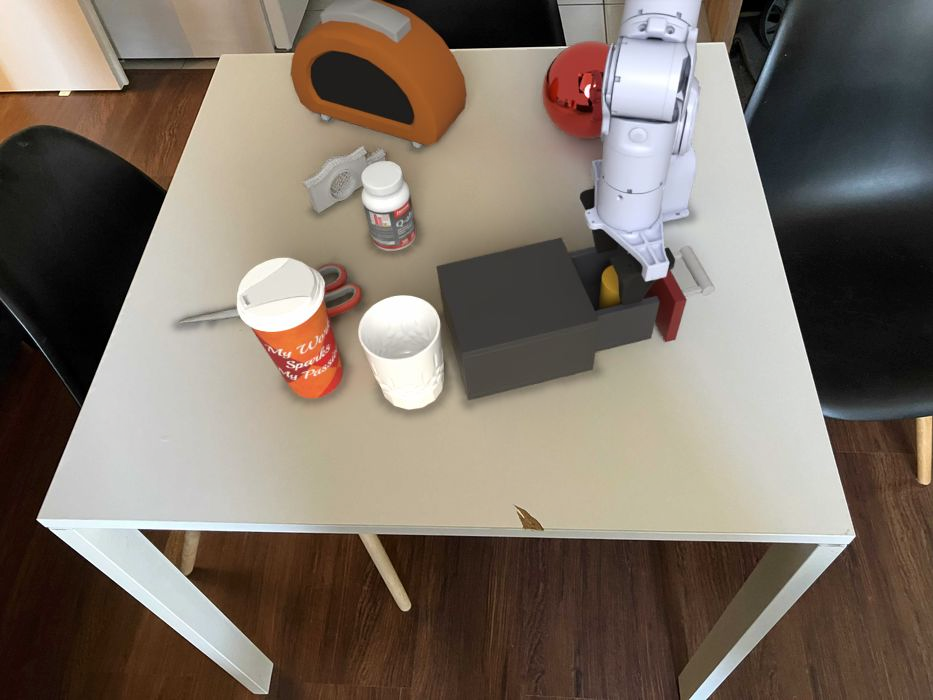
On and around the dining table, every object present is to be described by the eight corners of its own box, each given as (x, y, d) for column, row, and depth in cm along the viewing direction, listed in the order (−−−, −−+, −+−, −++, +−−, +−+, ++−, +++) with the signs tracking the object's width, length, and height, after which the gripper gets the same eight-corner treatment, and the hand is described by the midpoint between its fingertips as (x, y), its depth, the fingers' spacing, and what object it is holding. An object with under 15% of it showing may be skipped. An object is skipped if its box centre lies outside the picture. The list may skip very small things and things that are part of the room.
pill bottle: (410, 255, 87) (398, 194, 79) (366, 250, 88) (350, 189, 80) (422, 221, 91) (411, 159, 83) (378, 217, 92) (364, 155, 84)
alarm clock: (300, 116, 105) (266, 6, 91) (334, 82, 109) (307, -29, 95) (439, 159, 97) (425, 45, 84) (470, 119, 102) (461, 6, 88)
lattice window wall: (382, 164, 97) (374, 128, 93) (390, 170, 97) (383, 134, 92) (310, 210, 93) (298, 175, 88) (318, 217, 92) (307, 181, 88)
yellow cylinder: (592, 298, 79) (596, 268, 75) (627, 290, 79) (632, 259, 75) (605, 326, 77) (609, 296, 73) (641, 317, 77) (647, 287, 73)
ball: (547, 99, 103) (549, 19, 93) (632, 104, 101) (643, 24, 91) (535, 154, 96) (535, 74, 87) (625, 161, 94) (636, 80, 85)
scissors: (178, 320, 84) (173, 312, 83) (349, 262, 87) (346, 254, 86) (188, 370, 80) (183, 362, 79) (367, 307, 83) (365, 299, 82)
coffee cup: (292, 420, 75) (247, 335, 63) (268, 363, 80) (221, 274, 67) (366, 386, 77) (335, 297, 65) (338, 333, 81) (304, 240, 69)
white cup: (422, 427, 74) (409, 373, 65) (361, 394, 76) (341, 339, 68) (463, 371, 77) (455, 313, 69) (403, 342, 80) (389, 283, 72)
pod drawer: (676, 260, 83) (686, 218, 77) (715, 330, 77) (730, 289, 71) (534, 294, 81) (534, 253, 76) (563, 367, 75) (565, 329, 70)
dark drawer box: (559, 289, 83) (561, 237, 76) (592, 370, 76) (599, 320, 69) (444, 316, 82) (436, 265, 75) (468, 400, 75) (462, 353, 68)
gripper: (563, 130, 66) (558, 233, 77) (620, 239, 58) (605, 338, 69) (636, 114, 67) (621, 219, 78) (702, 220, 59) (675, 321, 70)
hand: (618, 274), depth 74 cm, fingers open, 7 cm apart
